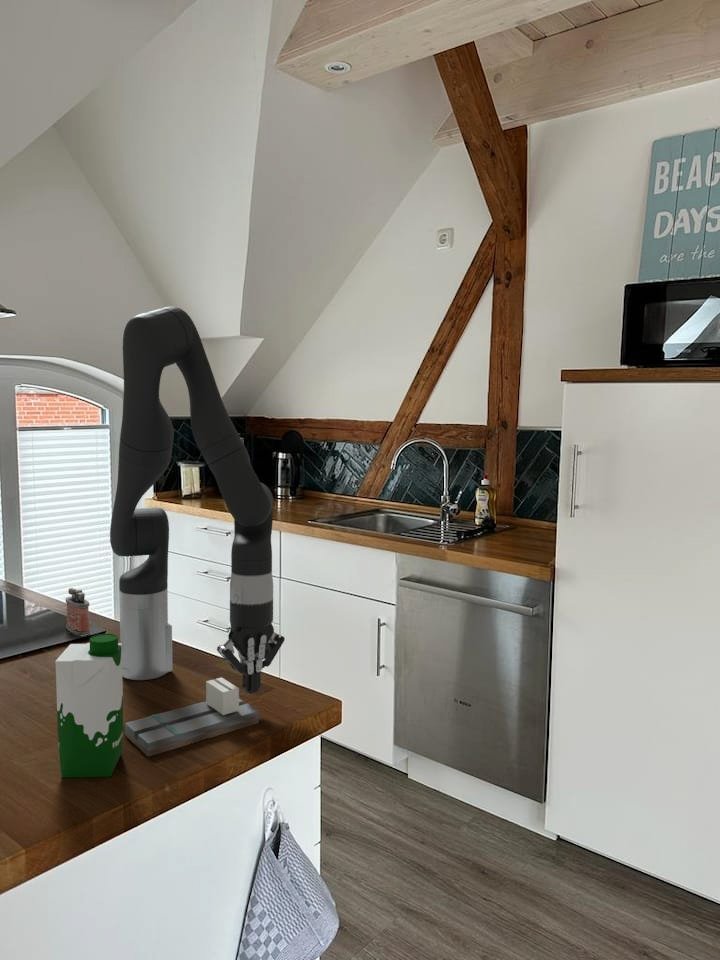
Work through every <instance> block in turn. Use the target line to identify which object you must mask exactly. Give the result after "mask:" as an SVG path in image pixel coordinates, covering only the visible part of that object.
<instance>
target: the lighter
mask: <svg viewBox="0 0 720 960" xmlns="http://www.w3.org/2000/svg"><path fill="white" fill-rule="evenodd" d="M68 595H71V596H67V597H66V598H65V603H66V626H65V627H66V628H67V629H68V630H69V631H70V632H73V633H76V634H79V635H85V634H88V633H90V634H91V630H90V621H89V620H90V619H89V618H90V617H89V616H90V614H89V612H90V611H89V607H90V602H89V601H88V600H87V599H86V597H85V596H86V595H85V592H83V590H82V589H76V588H74V587H69V589H68ZM66 628H65V629H66ZM70 632H69V633H70Z"/></svg>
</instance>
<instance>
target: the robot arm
mask: <svg viewBox="0 0 720 960" xmlns="http://www.w3.org/2000/svg"><path fill="white" fill-rule="evenodd" d="M122 336H123V337H122V365H123V367H122V368H123V369H122V370H123V396H122V397H123V398H122V401H123V403H122V416H121V417H122V418H121V419H122V420H121V427H120V435H119V448H118V465H117V482H116V483H117V484H116V490H115V497H114V502H113V509H112V515H111V521H110V529H109V542H110V547H111V550H112V552H113V553H114V554H115V555H117V556H118V557H142V556H147V559H145V560H144V562H142V563H141V564H140V565H138V566H136V567H134V568H132V569H130V570H127V571H126V572H124V573H122V574H121V575H120V577H119V581H118V584H119V585H118V589H119V591H118V592H119V635H120V636H119V638H120V639H119V640H120V641H119V643H122V678H124V679H127V680H132V681H145V680H146V681H147V680H154V679H157V678H160V677H162V676H165V675H166V674H168V673H170V672H173V626H172V625H171V624H170V623H169V614H168V613H169V610H168V609H169V608H168V607H169V604H168V597H169V596H168V578H169V577H168V576H169V575H168V574H169V572H168V571H169V570H168V569H169V566H168V565H169V547H170V546H169V543H170V542H169V541H170V523H169V522H170V521H169V517H168V514H167V513H166V511H165V510H164V509H163V508H161V507H148V508H147V507H146V508H137V505H138V504H139V503H140V500H141V499H142V498H143V496H144V495H145V494H146V493H147V492H148V491H149V490H150V489H151V488H152V487H153V486H154V485H155V483H157V482H158V480H159V479H160V478H161V477H162V476H163V475H164V473H165V472H166V471H167V469H168V467H169V465H170V463H171V460H172V453H173V446H174V437H175V435H174V433H175V430H174V426H173V423H172V421H171V419H170V416H169V414H168V413H167V410H166V409H165V407H164V406H163V404H162V402H161V400H160V384H161V378H162V373H163V371H164V369H165V368H167V367H168V366H172V365H174V364H175V365H176V366H177V368H178V369H179V371H180V372H181V375H182V376H183V378H184V381H185V384H186V387H187V393H188V397H189V398H188V399H189V412H190V413H189V414H190V426H191V431H192V432H191V433H192V436H193V439H194V441H195V443H196V446H197V447H198V450H199V451H200V454H201V455H202V457H203V459H204V461H205V462H206V464H207V466H208V468H209V470H210V471H211V473H212V474H213V476H214V479H215V481H216V483H217V486H218V489H219V492H220V494H221V496H222V499H223V501H224V503H225V506H226V508H227V509H228V511H229V514H230V515H231V516H232V518H233V519H234V524H233V525H234V527H233V528H234V529H233V530H234V534H233V535H234V538H233V540H232V544H231V555H230V556H231V557H230V558H231V561H230V563H231V565H230V566H231V567H230V569H231V571H230V572H231V573H230V581H229V623H230V624H229V625H230V631H229V633H228V634H227V635H228V636H227V637H228V639H227V640H226V642H225V643H224V644H219V645H217V647H216V651H217V652H218V654H220V656H221V657H222V658H223V659H224V660H225V662H226V663H228V666H230V667H231V668H232V669H233V670H234V671H237V672H238V673H239V674H242V688H243V689H242V690H244V691H245V692H246V693H247V694H249V695H252V694H257V693H258V692H259V690H260V687H261V673H262V670H263V669H264V668H266V667H269V666H271V664H272V662H273V660H274V659H275V657H276V655H277V654H278V652H279V651H280V648H282V645H283V644H284V642H285V637H284V636H283V635H281V634H279V633H277V632H275V628H274V626H273V622H274V579H273V550H272V548H273V547H272V531H273V521H274V520H273V518H274V496H273V493H272V491H271V489H270V488H269V487H268V486H267V485H266V484H265V483H263V482H260V479H259V478H258V475H257V474H256V471H255V470H254V469H253V466H252V463H251V458H250V455H249V453H248V449H247V448H246V446H245V444H244V442H243V441H242V438H241V437H240V434H239V433H238V431H237V429H236V427H235V425H234V423H233V421H232V420H231V418H230V415H229V414H228V411H227V409H226V407H225V404H224V402H223V399H222V396H221V394H220V391H219V388H218V385H217V383H216V379H215V376H214V373H213V371H212V368H211V364H210V362H209V358H208V356H207V354H206V351H205V347H204V344H203V342H202V340H201V337H200V334H199V331H198V329H197V327H196V325H195V323H194V321H193V319H192V318H191V316H190V315H189V314H188V313H187V311H185V310H184V309H182V308H180V307H177V306H172V305H171V306H165V307H160V308H157V309H154V310H150V311H147V312H142V313H140V314H137V315H134V316H133V317H132V318H130V319H129V320H128V321H127V323H126V325H125V327H124V331H123V335H122ZM235 650H236V651H237V652H238V658H239V659H238V658H237V657H236V656H235Z"/></svg>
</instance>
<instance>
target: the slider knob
mask: <svg viewBox="0 0 720 960" xmlns="http://www.w3.org/2000/svg"><path fill="white" fill-rule="evenodd" d="M205 687H206V688H205V689H206V690H205V694H206V695H205V697H206V699H205V701H206V703H207V704H208V705H209V706H211V707H212V708H214V709H215V710H217V712H219V713H221V714H222V715H226V714H229V713H232V712H236V711H239V699H240V688H239V687H238V686H236V685H234V684H232V683H231V682H230V681H229V680H226V678H223V677H221V676H220V677H219V678H218V677H217V678H214V679H209V680H206V682H205Z"/></svg>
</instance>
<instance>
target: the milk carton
mask: <svg viewBox="0 0 720 960" xmlns="http://www.w3.org/2000/svg"><path fill="white" fill-rule="evenodd" d="M54 662H55V663H54V664H55V680H56V682H55V684H56V688H55V689H56V715H57V716H56V719H57V721H56V723H57V744H58V746H57V747H58V753H59V754H58V755H59V765H60V766H59V767H60V773H61V777H60V778H65V779H67V778H101V777H102V778H103V777H104V778H105V777H106V778H109V777H112V775H113V773H114V770H115V768H116V766H117V764H118V762H119V760H120V758H121V755H122V753H123V752H122V751H123V750H122V749H123V738H124V737H123V736H124V695H123V687H124V686H123V676H122V643H120V642H119V637H118V635H117V634H113V633H101V634H96V635H95V634H94V635H93V636H91V637H90V638H89V642H86V643H70V644H69V645H68V646H67V647H66V649H65V650H64V651H63V652H62V653H61V654H60V655H59V657H57V658H56V660H55V661H54Z"/></svg>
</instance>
